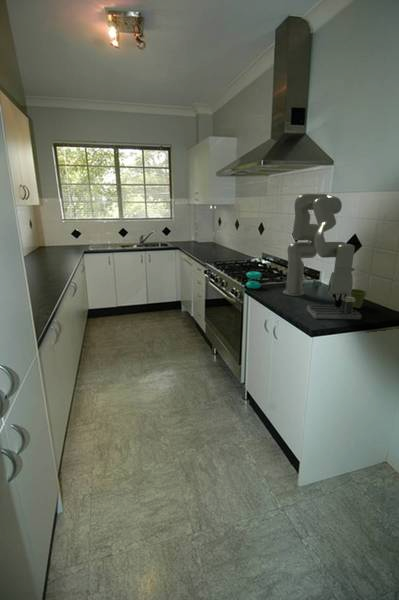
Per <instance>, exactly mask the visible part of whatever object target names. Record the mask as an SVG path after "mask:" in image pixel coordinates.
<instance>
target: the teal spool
mask: <svg viewBox="0 0 399 600" xmlns="http://www.w3.org/2000/svg"><path fill="white" fill-rule="evenodd" d="M245 275H246V277H247V278H248V279H253V280H252V281H247V282H246V283H245V286H247V288H248V289H251V288H252V289H251V290H253V289H256V290H257V289H260V288H261V287H262V285H261V282H259V281H256V279H257V280H258V279H261V277H262V276H263V275H262V272H260V271H248V272H247V273H246V274H245Z"/></svg>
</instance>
